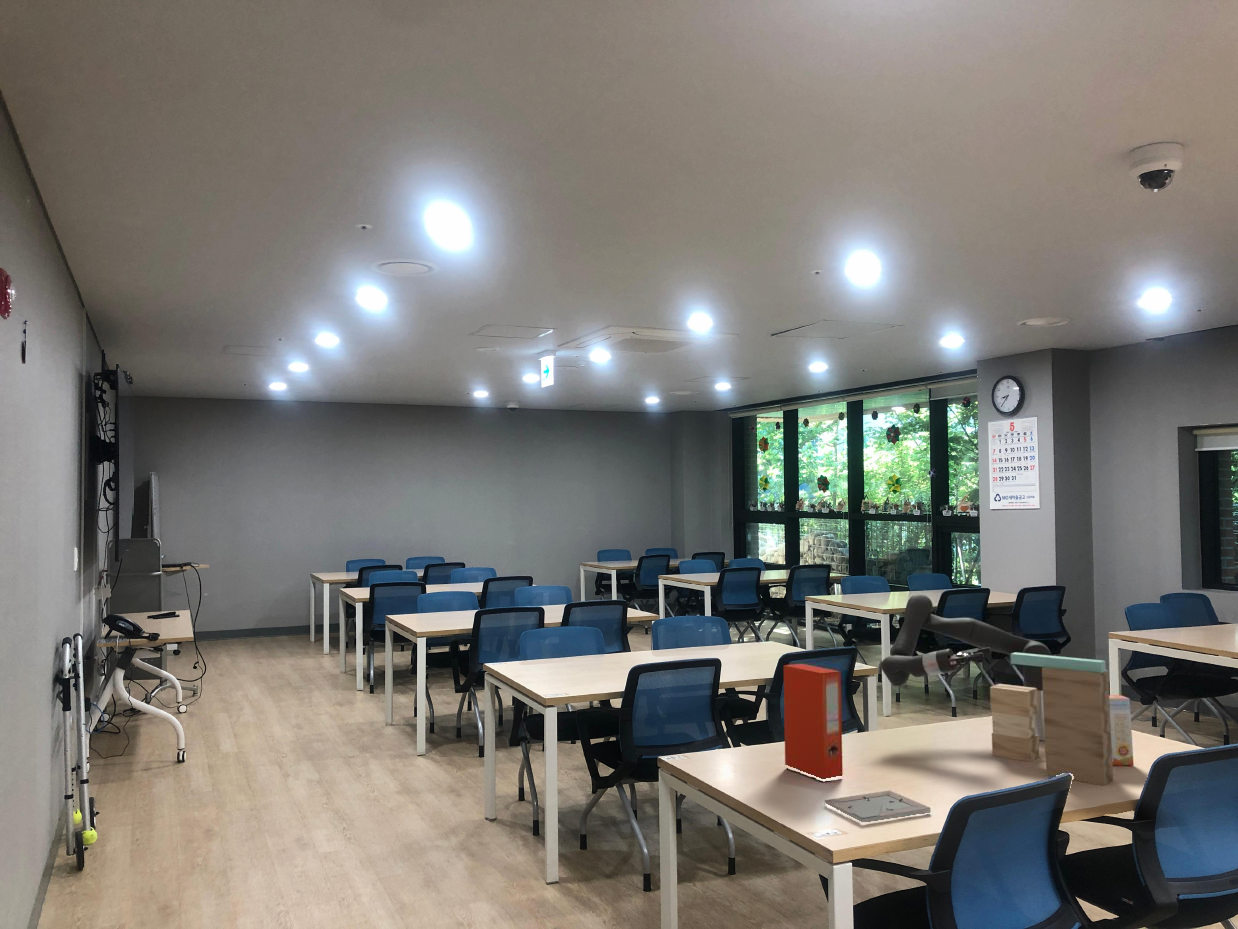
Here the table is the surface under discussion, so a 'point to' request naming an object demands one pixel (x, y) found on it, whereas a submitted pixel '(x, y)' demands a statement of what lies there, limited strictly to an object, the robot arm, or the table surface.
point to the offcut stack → (1014, 722)
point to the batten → (1058, 662)
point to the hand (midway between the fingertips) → (987, 653)
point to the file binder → (813, 720)
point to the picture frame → (878, 806)
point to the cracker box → (1121, 730)
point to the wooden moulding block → (1077, 724)
